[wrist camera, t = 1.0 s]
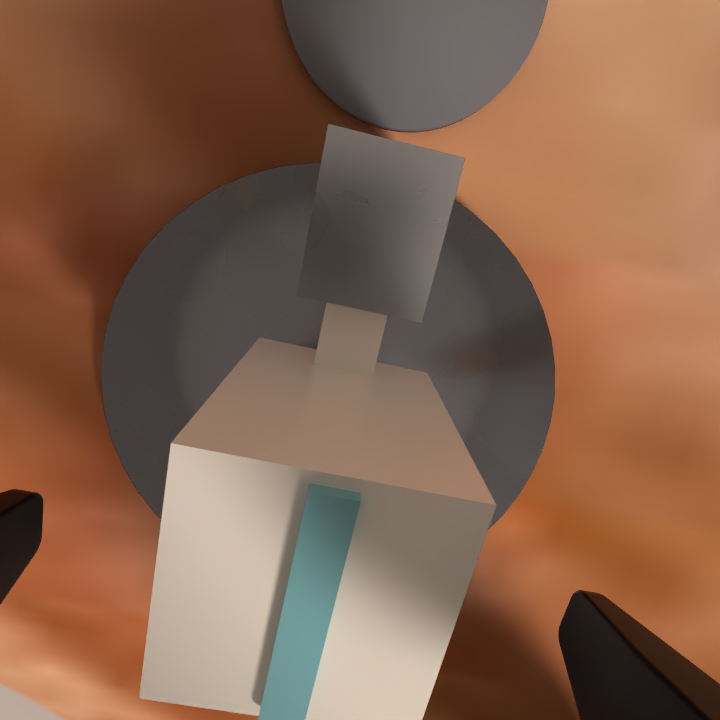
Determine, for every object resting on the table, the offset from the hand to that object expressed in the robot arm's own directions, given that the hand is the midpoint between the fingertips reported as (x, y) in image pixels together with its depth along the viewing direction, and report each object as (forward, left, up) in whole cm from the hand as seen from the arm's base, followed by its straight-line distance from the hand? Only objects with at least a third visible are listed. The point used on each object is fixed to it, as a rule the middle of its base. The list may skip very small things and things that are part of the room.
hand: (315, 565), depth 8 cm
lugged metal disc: (0, 0, -8) cm, 8 cm away
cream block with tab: (0, 0, -5) cm, 5 cm away
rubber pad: (+6, -10, -8) cm, 14 cm away
